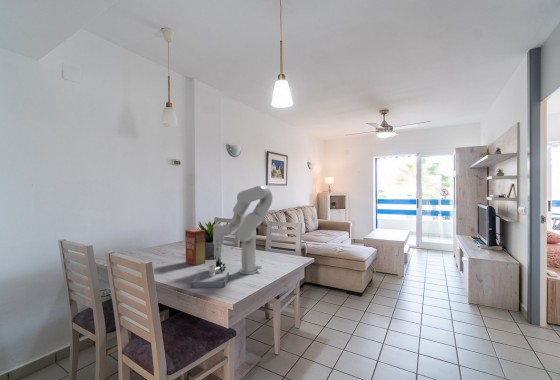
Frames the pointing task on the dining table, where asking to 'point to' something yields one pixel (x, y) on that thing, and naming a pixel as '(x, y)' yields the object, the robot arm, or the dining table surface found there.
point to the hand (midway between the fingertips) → (218, 267)
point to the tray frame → (208, 282)
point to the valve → (216, 269)
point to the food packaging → (195, 246)
